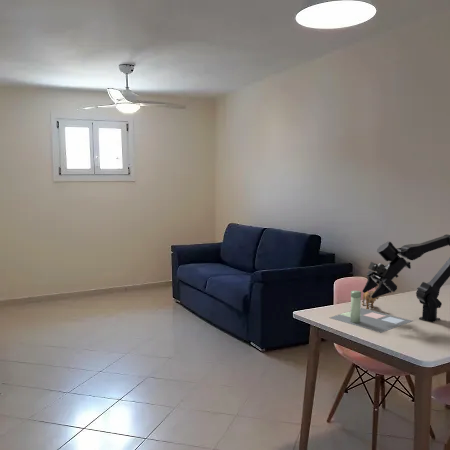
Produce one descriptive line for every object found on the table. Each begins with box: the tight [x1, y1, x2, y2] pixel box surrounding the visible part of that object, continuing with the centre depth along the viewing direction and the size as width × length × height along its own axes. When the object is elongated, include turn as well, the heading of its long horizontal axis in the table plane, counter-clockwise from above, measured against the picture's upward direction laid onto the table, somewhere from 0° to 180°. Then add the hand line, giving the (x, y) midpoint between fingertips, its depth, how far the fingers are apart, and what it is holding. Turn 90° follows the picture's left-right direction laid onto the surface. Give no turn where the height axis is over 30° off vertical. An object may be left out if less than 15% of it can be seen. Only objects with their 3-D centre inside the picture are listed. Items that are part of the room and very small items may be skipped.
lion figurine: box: [361, 290, 381, 310], centre depth 225 cm, size 15×5×9 cm, turn 8°
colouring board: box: [328, 307, 413, 334], centre depth 204 cm, size 24×26×1 cm
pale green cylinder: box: [350, 290, 362, 323], centre depth 200 cm, size 4×4×13 cm
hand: (367, 294), depth 200 cm, fingers open, 9 cm apart
